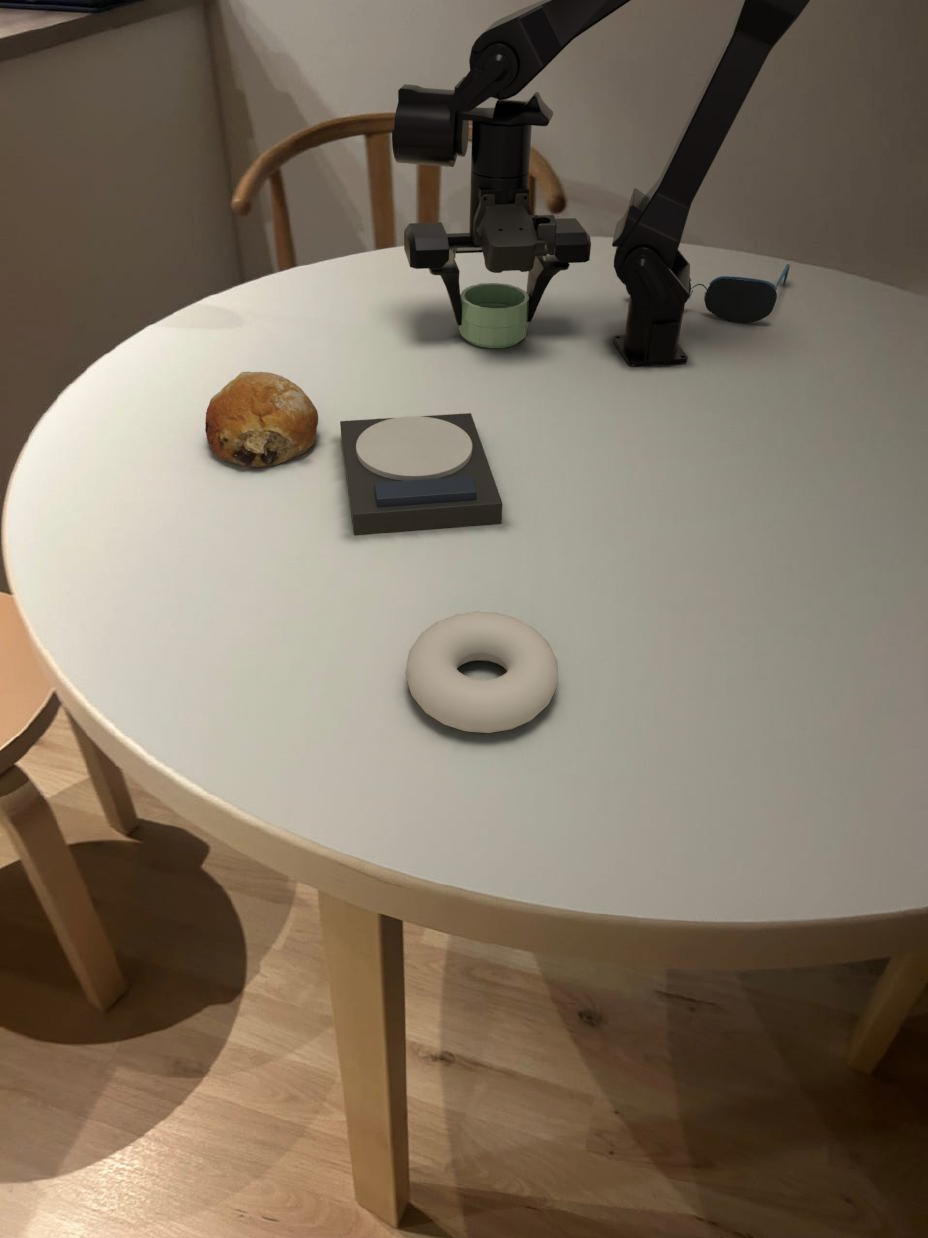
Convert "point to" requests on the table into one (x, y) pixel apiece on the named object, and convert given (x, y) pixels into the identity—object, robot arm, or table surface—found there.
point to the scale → (417, 474)
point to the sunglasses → (740, 297)
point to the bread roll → (260, 420)
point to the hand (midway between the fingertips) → (493, 322)
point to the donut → (480, 699)
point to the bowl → (494, 315)
